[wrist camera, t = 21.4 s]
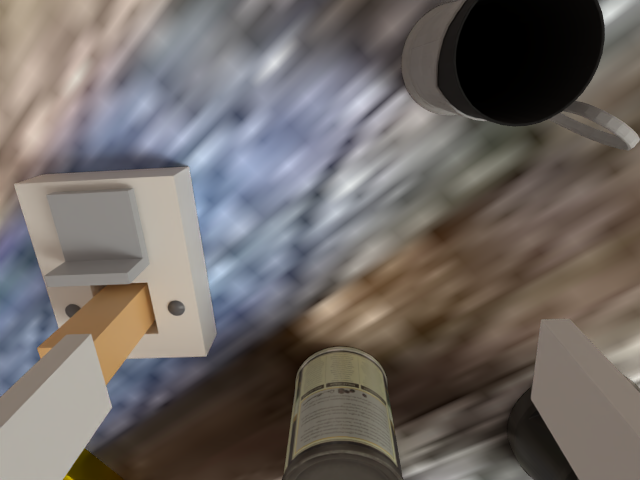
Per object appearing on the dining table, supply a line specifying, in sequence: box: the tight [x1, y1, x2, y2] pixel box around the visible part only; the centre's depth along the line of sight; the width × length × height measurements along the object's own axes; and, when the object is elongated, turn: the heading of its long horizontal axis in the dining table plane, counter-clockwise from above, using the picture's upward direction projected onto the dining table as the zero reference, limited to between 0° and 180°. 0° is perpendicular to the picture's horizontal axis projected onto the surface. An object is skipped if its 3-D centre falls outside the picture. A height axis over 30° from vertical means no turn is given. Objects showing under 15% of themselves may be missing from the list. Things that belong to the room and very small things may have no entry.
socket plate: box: [14, 167, 217, 359], centre depth 42 cm, size 18×14×4 cm
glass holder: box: [401, 0, 640, 150], centre depth 30 cm, size 9×14×15 cm, turn 58°
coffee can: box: [282, 347, 403, 480], centre depth 42 cm, size 10×10×14 cm
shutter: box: [44, 188, 150, 287], centre depth 36 cm, size 7×7×4 cm
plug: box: [37, 283, 156, 385], centre depth 39 cm, size 4×4×13 cm
